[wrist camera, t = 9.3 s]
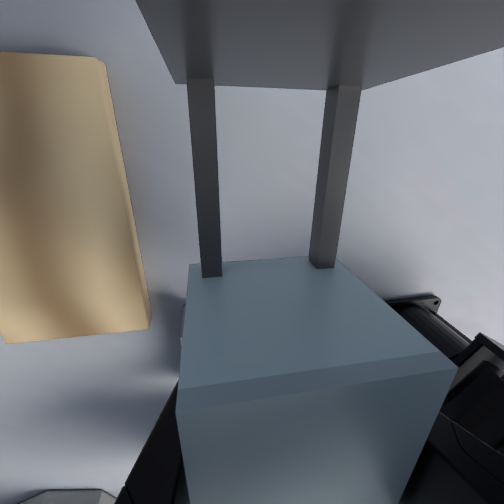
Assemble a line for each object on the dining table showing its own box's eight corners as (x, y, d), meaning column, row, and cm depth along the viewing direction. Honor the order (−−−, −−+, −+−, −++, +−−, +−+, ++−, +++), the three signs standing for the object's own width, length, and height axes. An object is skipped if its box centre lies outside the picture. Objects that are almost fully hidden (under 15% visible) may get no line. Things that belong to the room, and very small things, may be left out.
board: (105, 64, 13) (94, 57, 12) (152, 315, 20) (148, 328, 19) (-110, 52, 12) (-151, 42, 10) (20, 328, 18) (6, 343, 17)
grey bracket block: (166, 25, 6) (-73, -750, 1) (362, 40, 7) (888, -280, 2) (205, 423, 12) (208, 653, 6) (309, 405, 12) (387, 596, 7)
